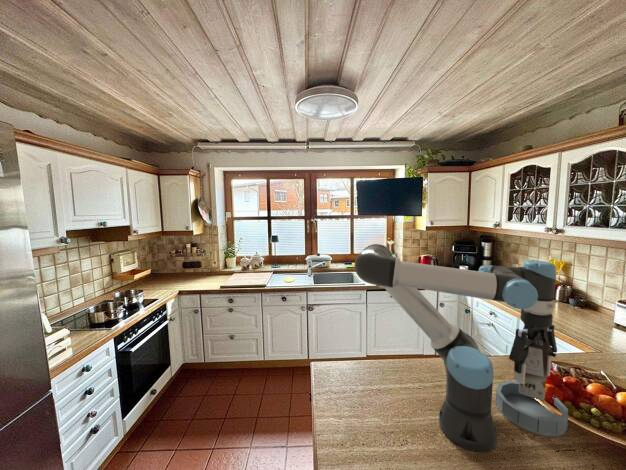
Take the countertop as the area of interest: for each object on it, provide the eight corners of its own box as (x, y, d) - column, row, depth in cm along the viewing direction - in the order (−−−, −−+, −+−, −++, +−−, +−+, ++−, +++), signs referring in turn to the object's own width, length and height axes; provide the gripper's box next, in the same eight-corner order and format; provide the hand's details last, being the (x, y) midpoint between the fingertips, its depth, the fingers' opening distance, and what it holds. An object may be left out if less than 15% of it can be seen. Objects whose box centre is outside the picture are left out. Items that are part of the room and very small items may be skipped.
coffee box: (545, 402, 79) (549, 351, 77) (518, 393, 83) (521, 344, 81) (544, 385, 86) (547, 338, 84) (519, 378, 90) (522, 333, 88)
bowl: (541, 444, 74) (542, 428, 74) (483, 401, 91) (484, 387, 90) (580, 427, 80) (581, 411, 79) (519, 389, 96) (520, 376, 96)
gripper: (522, 321, 74) (518, 394, 77) (575, 309, 81) (570, 376, 84) (497, 311, 81) (493, 378, 84) (547, 301, 89) (543, 363, 91)
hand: (531, 377), depth 84 cm, fingers closed on coffee box, 11 cm apart
